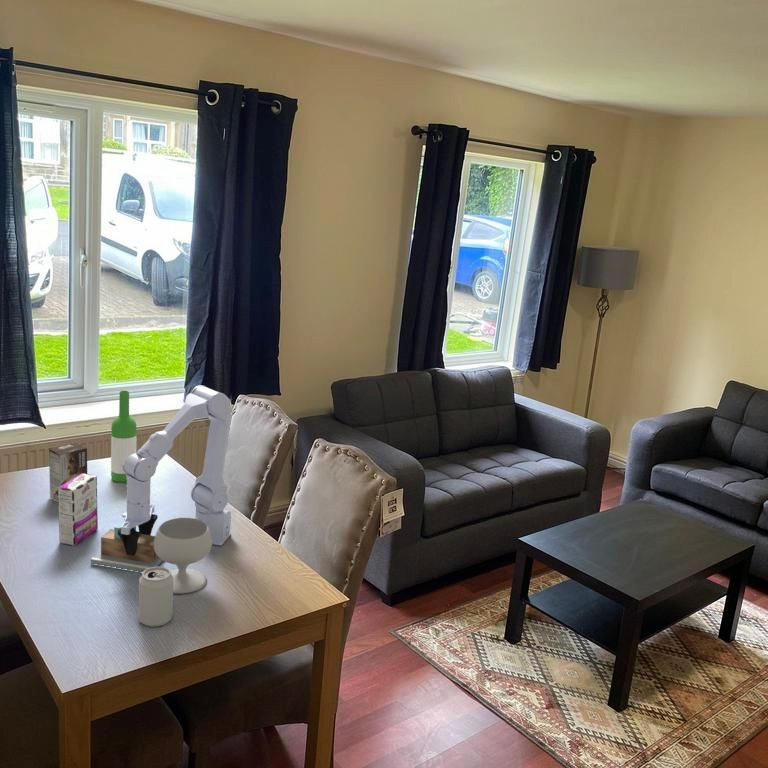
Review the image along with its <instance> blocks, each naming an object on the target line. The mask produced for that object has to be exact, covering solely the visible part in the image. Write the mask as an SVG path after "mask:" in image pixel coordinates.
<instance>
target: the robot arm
mask: <svg viewBox="0 0 768 768" xmlns="http://www.w3.org/2000/svg"><path fill="white" fill-rule="evenodd" d="M204 418H206V419H207V418H208V419H209V421H210V422H209V423H210V424H209V428H208V435H207V443H206V446H205V447H206V448H205V455H204V461H203V466H202V473H201V475H199V476H197V477H196V479H195V483H194V485H193V487H192V488H191V491H190V497H191V499H192V501H193V502H194V506H195V519H198V520H201V521H203V522H204V523H205V524H206V525H207V526H208V528H209V530H210V533H211V537H212V546H220V547H221V546H223V545H224V543H225V542H226V541H227V540H228V538H229V537H230V536H231V534H232V532H231V521H232V520H231V519H232V515H231V511H229V510H226V509H225V508H226V506H227V505H228V501H229V496H228V486H227V484H226V481H225V479H224V478H223V475H224V474H223V473H224V467H225V462H226V454H227V449H228V444H229V443H228V442H229V436H230V429H231V424H232V412H231V399H230V398H229V397H228V396H227V395H226V394H225V393H223V392H219V391H216V390H214V389H212V388H209V387H207V386H206V385H202V384H199V385H197V386H194V388H193V389H192V390H191V392H190V393H188V394H187V395H186V397H185V401H184V403H183V405H182V406H181V407H180V409H179V410H178V411H177V413H176V414H175V415H174V416H173V417H172V418H171V420H170V421H169V423H168V424H167V425H166V426H165V427H164V429H163V430H160V431H155V432H154V433H151V434H150V436H149V437H148V440H147V441H146V442H145V443H144V444H143V445H142V446H140V448H139V449H138V450H136V453H134V454H133V455H130V456H128V457H127V458H126V460H125V462H124V465H122V468H123V471H124V472H125V473H126V476H127V482H126V512H124V513H122V515H121V517H122V518H124V520H123V521H124V524H123V525H122V526H121V528H120V529H119V530H118V535H119V536H120V538H121V539H122V541H123V544H124V547H125V551H126V554H127V555H131V556H134V555H135V554H136V549H137V543H138V539H139V536H140V534H145V535H151V536H152V531H153V528H154V525H155V523H156V521H157V520H158V518H159V516H158V514H153V513H154V512H155V505H154V504H151V484H152V483H151V480H152V479H151V478H152V477H154V475H155V473H156V471H157V467H158V465H159V462H160V461H162V459H163V458H164V457H165V455H167V453H168V452H169V451H170V450H171V449H172V448H173V447H174V439H175V438H176V437H178V436H179V434H180V433H182V431H184V429H185V428H186V427H188V426H189V425H190V424H191V423H192V422H193V421H194V420H195V419H204ZM134 527H136V528H137V527H138V531H137V530H136V531H135V530H134Z"/></svg>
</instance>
